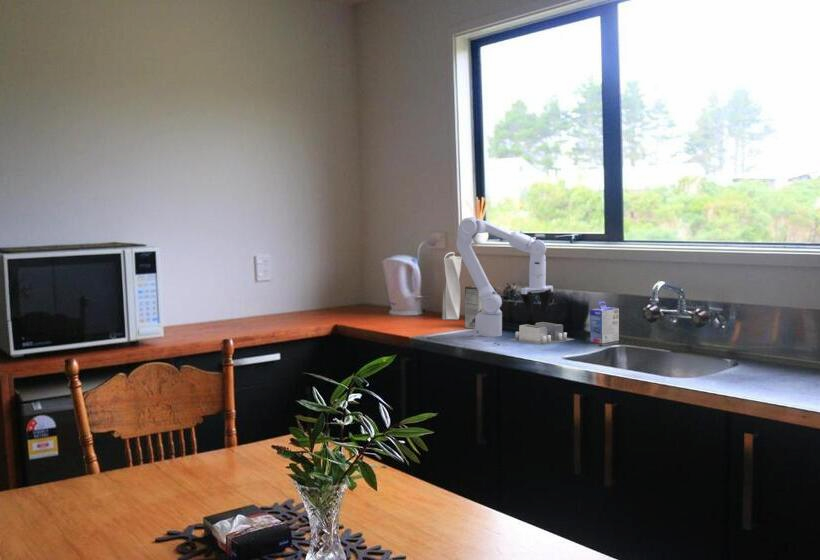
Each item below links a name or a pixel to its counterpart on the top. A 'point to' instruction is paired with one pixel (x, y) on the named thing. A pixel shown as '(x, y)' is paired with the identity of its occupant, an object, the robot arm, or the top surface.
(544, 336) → the tray
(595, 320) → the ink cartridge box
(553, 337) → the seated drive
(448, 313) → the skyscraper
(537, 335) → the grey rectangular block
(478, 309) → the coffee box
